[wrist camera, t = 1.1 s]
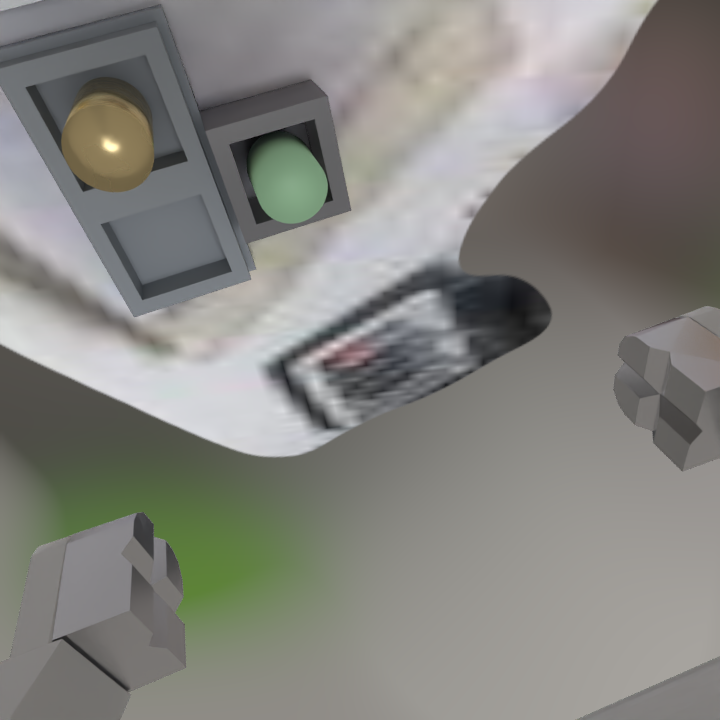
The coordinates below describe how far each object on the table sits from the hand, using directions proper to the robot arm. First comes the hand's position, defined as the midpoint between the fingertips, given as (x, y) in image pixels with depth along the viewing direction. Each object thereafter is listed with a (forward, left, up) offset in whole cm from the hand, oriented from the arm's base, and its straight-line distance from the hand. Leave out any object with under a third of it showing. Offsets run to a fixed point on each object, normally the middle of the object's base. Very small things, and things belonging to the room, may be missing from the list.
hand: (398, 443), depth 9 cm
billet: (+1, -6, -29) cm, 30 cm away
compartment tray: (+4, -6, -30) cm, 31 cm away
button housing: (+5, +2, -30) cm, 31 cm away
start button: (+5, +2, -28) cm, 28 cm away
